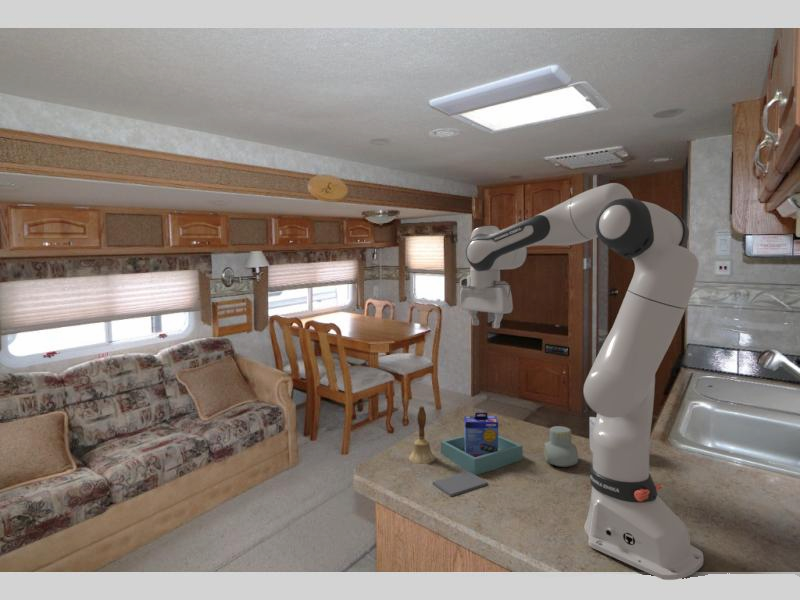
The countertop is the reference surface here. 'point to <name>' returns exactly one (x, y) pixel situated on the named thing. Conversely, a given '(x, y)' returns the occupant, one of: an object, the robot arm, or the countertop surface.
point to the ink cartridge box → (480, 434)
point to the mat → (459, 483)
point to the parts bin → (486, 462)
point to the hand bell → (421, 443)
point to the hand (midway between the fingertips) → (485, 326)
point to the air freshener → (560, 448)
